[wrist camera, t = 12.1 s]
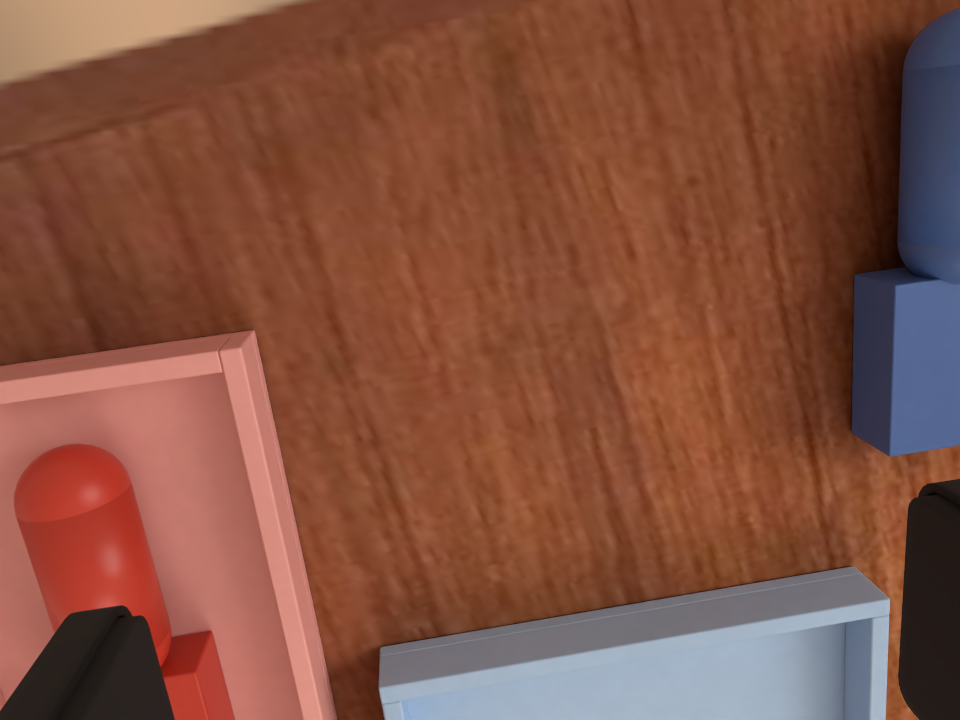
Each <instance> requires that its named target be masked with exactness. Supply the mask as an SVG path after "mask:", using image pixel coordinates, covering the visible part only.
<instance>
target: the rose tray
mask: <svg viewBox="0 0 960 720" xmlns="http://www.w3.org/2000/svg"><path fill="white" fill-rule="evenodd" d="M69 444H87V445H93V446H96V447H99V448H102V449H104V450H106V451H107V452H109V453H111V454H113V455H114V456H115V457H116V458H117V459H118V460H119V461H120V462H121V463H122V465H123V466H124V467H125V469H126V470H127V472H128V475H129V477H130V480H131V483H132V487H133V490H134V494H135V497H136V501H137V505H138V508H139V512H140V515H141V519H142V523H143V526H144V530H145V534H146V537H147V541H148V544H149V548H150V552H151V555H152V559H153V562H154V566H155V570H156V573H157V577H158V580H159V584H160V588H161V591H162V595H163V598H164V602H165V606H166V609H167V613H168V616H169V620H170V624H171V631H172V637H175V636H181V635H187V634H193V633H199V632H205V631H212V633H213V637H214V640H215V644H216V648H217V652H218V656H219V660H220V663H221V667H222V671H223V675H224V679H225V683H226V687H227V690H228V694H229V698H230V702H231V706H232V710H233V713H234V717H235V720H338V719H337V714H336V709H335V705H334V700H333V695H332V691H331V686H330V681H329V677H328V672H327V667H326V663H325V658H324V653H323V649H322V644H321V639H320V634H319V630H318V625H317V620H316V616H315V611H314V606H313V602H312V597H311V592H310V588H309V583H308V578H307V573H306V569H305V564H304V559H303V555H302V550H301V545H300V541H299V536H298V531H297V527H296V522H295V517H294V513H293V508H292V503H291V498H290V494H289V489H288V484H287V480H286V475H285V470H284V466H283V461H282V456H281V452H280V447H279V442H278V437H277V433H276V428H275V423H274V419H273V414H272V409H271V405H270V400H269V395H268V391H267V386H266V381H265V377H264V372H263V367H262V362H261V358H260V353H259V348H258V344H257V339H256V334H255V331H253V330H251V331H244V332H236V333H229V334H222V335H215V336H208V337H201V338H194V339H187V340H180V341H173V342H166V343H159V344H152V345H145V346H138V347H131V348H124V349H117V350H110V351H103V352H96V353H89V354H82V355H75V356H68V357H60V358H53V359H46V360H39V361H32V362H25V363H18V364H11V365H4V366H0V710H1V709H2V707H3V706H4V705H5V703H6V702H7V700H8V699H9V698H10V696H11V695H12V693H13V692H14V690H15V689H16V688H17V686H18V685H19V683H20V682H21V680H22V679H23V678H24V676H25V675H26V673H27V672H28V671H29V669H30V668H31V666H32V665H33V663H34V662H35V661H36V659H37V658H38V656H39V655H40V654H41V652H42V651H43V649H44V648H45V646H46V645H47V644H48V642H49V641H50V639H51V638H52V636H53V635H54V634H55V633H54V630H53V627H52V624H51V621H50V618H49V615H48V612H47V609H46V606H45V603H44V600H43V597H42V594H41V591H40V588H39V585H38V582H37V579H36V576H35V573H34V570H33V567H32V564H31V560H30V557H29V554H28V551H27V548H26V545H25V542H24V539H23V536H22V533H21V530H20V527H19V524H18V521H17V518H16V513H15V508H14V492H15V489H16V485H17V482H18V480H19V478H20V477H21V475H22V473H23V471H24V470H25V469H26V468H27V467H28V465H29V464H30V463H31V462H32V461H33V460H35V459H36V458H37V457H39V456H40V455H41V454H43V453H44V452H46V451H48V450H51V449H53V448H56V447H59V446H63V445H69Z"/></svg>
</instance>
